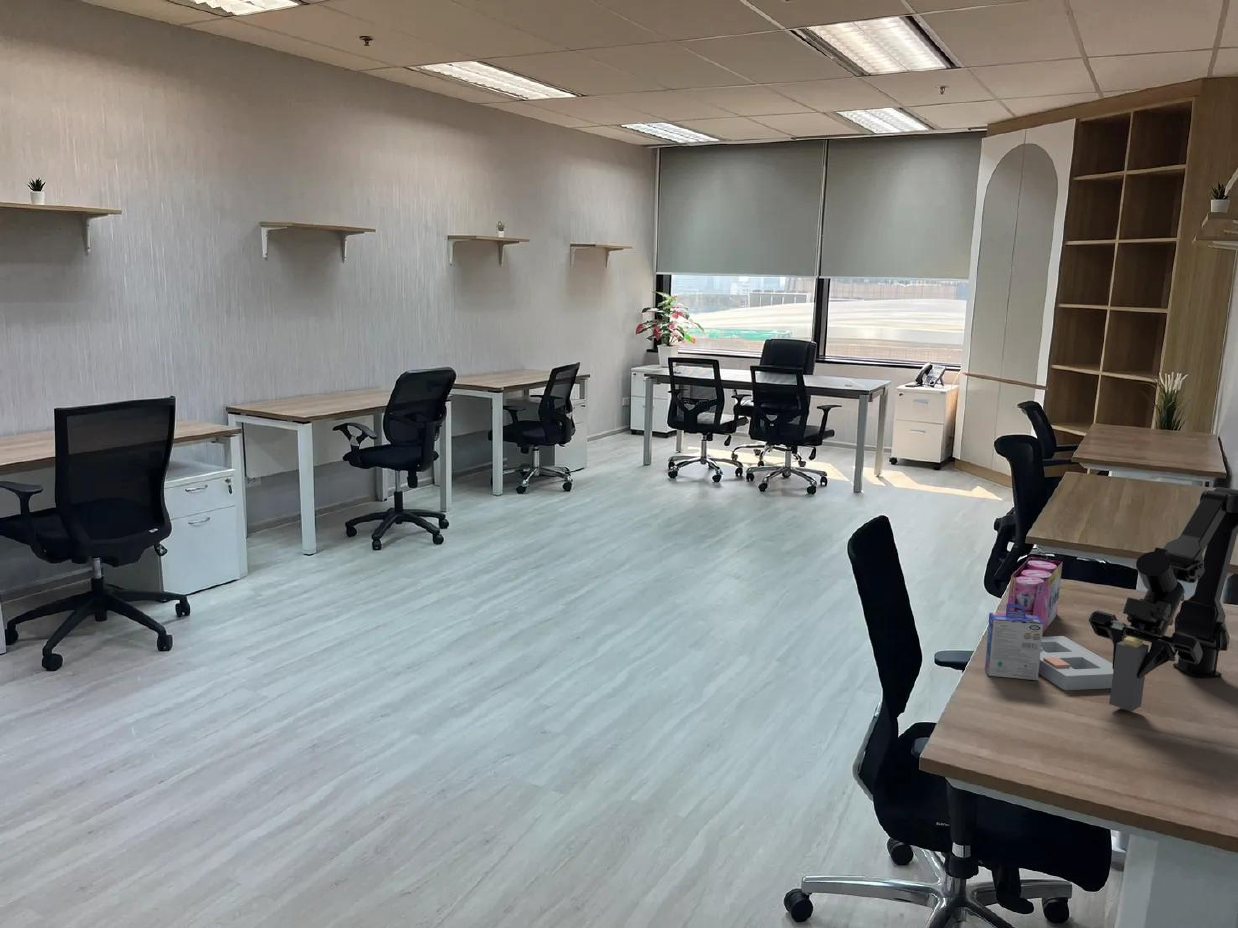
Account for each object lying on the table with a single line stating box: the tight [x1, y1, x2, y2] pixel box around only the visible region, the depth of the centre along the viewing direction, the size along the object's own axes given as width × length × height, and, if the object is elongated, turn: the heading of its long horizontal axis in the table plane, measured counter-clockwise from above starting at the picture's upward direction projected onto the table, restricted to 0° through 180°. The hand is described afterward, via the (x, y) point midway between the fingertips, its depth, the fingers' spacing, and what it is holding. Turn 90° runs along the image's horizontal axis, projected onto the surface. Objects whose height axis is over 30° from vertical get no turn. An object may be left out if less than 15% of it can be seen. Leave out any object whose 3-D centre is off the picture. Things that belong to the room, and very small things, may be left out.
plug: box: [1108, 636, 1150, 712], centre depth 173 cm, size 4×4×13 cm
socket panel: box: [1038, 635, 1113, 691], centre depth 194 cm, size 14×21×4 cm, turn 9°
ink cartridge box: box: [984, 603, 1044, 681], centre depth 190 cm, size 10×6×14 cm, turn 79°
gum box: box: [1006, 556, 1063, 633], centre depth 221 cm, size 24×8×14 cm, turn 145°
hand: (1125, 673), depth 172 cm, fingers closed on plug, 4 cm apart
